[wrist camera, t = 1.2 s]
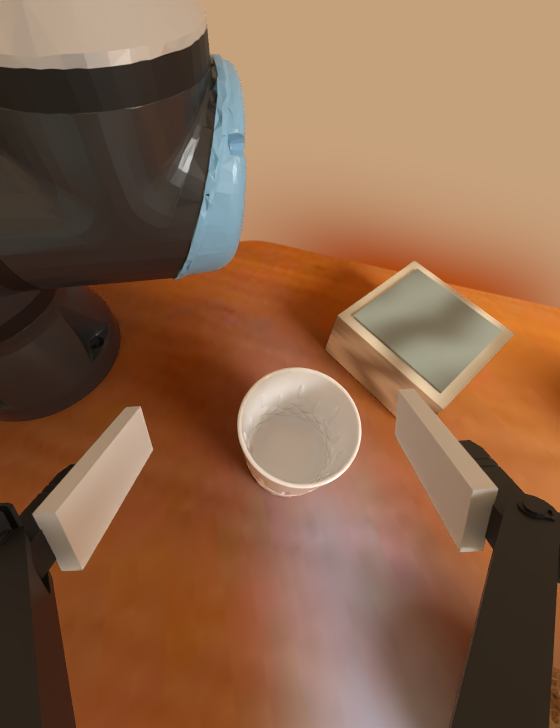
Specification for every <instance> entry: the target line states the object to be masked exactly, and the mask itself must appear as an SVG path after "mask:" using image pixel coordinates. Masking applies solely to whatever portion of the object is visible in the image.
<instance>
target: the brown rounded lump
mask: <svg viewBox="0 0 560 728" xmlns="http://www.w3.org/2000/svg"><path fill="white" fill-rule="evenodd" d="M549 728H560V670H559V669H556V668H554V667H552V683H551V700H550V718H549Z"/></svg>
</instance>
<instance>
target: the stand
mask: <svg viewBox="0 0 560 728" xmlns="http://www.w3.org/2000/svg"><path fill="white" fill-rule="evenodd" d="M514 334H515V333H513V332H512V331H511V330H509V329H508V328H506V327H505V326H504V325H502V324H501V323H500V322H498V321H497V320H495V319H494V318H493V317H491V316H490V315H488V314H487V313H486V312H484V311H483V310H482V309H480V308H479V307H477V306H476V305H475V304H473V303H472V302H471V301H469V300H468V299H466V298H465V297H464V296H462V295H461V294H460V293H458V292H457V291H455V290H454V289H453V288H451V287H450V286H449V285H447V284H446V283H444V282H443V281H442V280H440V279H439V278H438V277H436V276H435V275H433V274H432V273H431V272H429V271H428V270H427V269H425V268H424V267H422V266H421V265H420V264H418V263H417V262H416V261H414V262H412V263H411V264H409V265H408V266H407V267H405V268H404V269H402V270H401V271H399V272H398V273H397V274H395V275H394V276H392V277H391V278H390V279H388V280H387V281H385V282H384V283H382V284H381V285H380V286H378V287H377V288H375V289H374V290H373V291H371V292H370V293H368V294H367V295H366V296H364V297H363V298H361V299H360V300H359V301H357V302H356V303H354V304H353V305H352V306H350V307H349V308H347V309H346V310H344V311H343V312H342V313H340V314H339V315H337V318H336V321H335V324H334V326H333V329H332V332H331V334H330V337H329V340H328V342H327V345H326V348H325V350H326V351H327V352H328V353H329V354H330V355H331V356H332V357H333V358H334V359H336V360H337V361H338V362H339V363H340V364H341V365H342V366H343V367H344V368H345V369H346V370H347V371H348V372H349V373H350V374H351V375H352V376H353V377H354V378H355V379H356V380H357V381H359V382H360V383H361V384H362V385H363V386H364V387H365V388H366V389H367V390H368V391H369V392H370V393H371V394H372V395H373V396H374V397H375V398H376V399H377V400H378V401H379V402H381V403H382V404H383V405H384V406H385V407H386V408H387V409H388V410H389V411H390V412H391V413H392V414H393V415H394V416H395V417H396V414H397V402H398V389H415V390H416V392H417V393H418V394H419V395H420V396H421V397H422V399H423V400H424V401H425V402H426V403H427V405H428V406H429V407H430V408H431V409H432V411H433V412H434V413H435V414H438V413H439V412H441V411H442V410H443V409H444V408H445V407H446V406H447V405H448V404H449V403H450V402H451V401H452V400H453V399H454V398H455V397H456V396H457V395H458V394H459V392H460V391H461V390H462V389H463V388H464V387H465V386H466V385H467V384H468V383H469V382H470V381H471V380H472V379H473V378H474V377H475V376H476V374H477V373H478V372H479V371H480V370H481V369H482V368H483V367H484V366H485V365H486V364H487V363H488V362H489V361H490V360H491V359H492V358H493V356H494V355H495V354H496V353H497V352H498V351H499V350H500V349H501V348H502V347H503V346H504V345H505V344H506V343H507V342H508V341H509V340H510V338H511V337H512V336H513V335H514Z"/></svg>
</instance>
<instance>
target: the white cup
mask: <svg viewBox="0 0 560 728" xmlns="http://www.w3.org/2000/svg"><path fill="white" fill-rule="evenodd" d="M237 430H238V437H239V441H240V444H241V447H242V450H243V454H244V457H245V460H246V463H247V465H248V468H249V470H250V472H251V473H252V475H253V476H254V478H255V480H256V482H257V483H258V484H259V485H260V486H261V487H263V488H264V489H265V490H267V491H268V492H269V493H270V494H272V495H277V496H283V497H288V498H290V497H293V496H298V495H303V494H305V493H308V492H311V491H313V490H315V489H317V488H319V487H321V486H323V485H325V484H327V483H329V482H331V481H333V480H334V479H336V478H337V477H339V476H340V475H341V474H342V473H344V472H345V471H346V469H347V468H348V467H349V466H350V465H351V463H352V462H353V460H354V458H355V456H356V454H357V452H358V449H359V445H360V441H361V422H360V417H359V413H358V410H357V408H356V405H355V403H354V402H353V400H352V398H351V397H350V395H349V394H348V393H347V391H346V390H345V389H344V388H343V387H342V386H341V385H340V384H339V383H338V382H336V381H335V380H334V379H332V378H331V377H329V376H327V375H325V374H323V373H321V372H318V371H315V370H312V369H307V368H298V367H294V368H285V369H280V370H277V371H274V372H272V373H269V374H267V375H266V376H264V377H262V378H261V379H260V380H258V381H257V382H256V383H255V384H254V385H253V386H252V387H251V388H250V389H249V391H248V392H247V393H246V395H245V397H244V399H243V401H242V403H241V406H240V409H239V413H238V419H237Z"/></svg>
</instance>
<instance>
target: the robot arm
mask: <svg viewBox="0 0 560 728" xmlns="http://www.w3.org/2000/svg"><path fill="white" fill-rule="evenodd" d="M244 141H245V114H244V103H243V96H242V88H241V84H240V80H239V76H238V73H237V71H236V69H235V67H234V65H233V64H232V63H231V62H230V61H228V60H225V59H223V58H222V57H221V56H220V55H219V54H218V55H216V54H213V55H210V54H209V43H208V33H207V21H206V13H205V10H204V8H203V6H202V5H201V4H200V2H199V1H198V0H0V421H25V420H32V419H37V418H41V417H44V416H48V415H51V414H53V413H56V412H58V411H61V410H63V409H65V408H67V407H69V406H71V405H72V404H74V403H76V402H77V401H79V400H81V399H82V398H83V397H85V396H86V395H87V394H89V393H90V392H91V391H92V390H93V389H94V388H95V387H96V386H97V385H98V384H99V383H100V382H101V381H102V380H103V379H104V378H105V376H106V375H107V374H108V372H109V371H110V369H111V367H112V366H113V364H114V362H115V360H116V357H117V355H118V351H119V347H120V330H119V326H118V323H117V320H116V318H115V317H114V315H113V313H112V312H111V310H110V309H109V307H108V306H107V304H106V303H105V301H104V300H103V299H102V298H101V297H100V296H99V295H98V294H97V293H95V292H94V291H93V290H91V289H90V288H89V287H87V286H88V285H99V284H110V283H121V282H133V281H144V280H155V279H167V278H173V279H178V278H183V277H184V276H185V275H190V274H196V273H203V272H210V271H216V270H218V269H220V268H223V267H224V266H225V265H227V264H228V263H229V262H230V261H231V260H232V259H233V257H234V255H235V253H236V251H237V248H238V245H239V241H240V236H241V231H242V224H243V215H244V204H245V188H246V187H245V186H246V159H245V156H244V152H243V149H244V144H245V142H244ZM395 436H396V438H397V440H398V442H399V444H400V445H401V447H402V449H403V451H404V453H405V454H406V456H407V458H408V460H409V462H410V463H411V465H412V467H413V469H414V471H415V472H416V474H417V476H418V478H419V480H420V481H421V483H422V485H423V487H424V489H425V490H426V492H427V494H428V496H429V498H430V499H431V501H432V503H433V505H434V507H435V508H436V510H437V512H438V514H439V516H440V517H441V519H442V521H443V523H444V525H445V526H446V528H447V530H448V532H449V534H450V535H451V537H452V539H453V541H454V543H455V544H456V546H457V548H458V550H459V552H468V551H483V547H484V543H485V539H487V541H488V542H489V544H490V545H491V547H492V548H493V553H492V557H491V560H490V564H489V568H488V573H487V577H486V581H485V585H484V589H483V593H482V597H481V601H480V605H479V609H478V613H477V617H476V621H475V625H474V629H473V633H472V637H471V641H470V645H469V649H468V653H467V657H466V661H465V665H464V669H463V673H462V677H461V681H460V685H459V689H458V693H457V697H456V701H455V705H454V709H453V713H452V717H451V721H450V725H449V728H549V718H550V700H551V683H552V665H553V648H554V631H555V613H556V596H557V583H560V513H559V512H557V511H556V510H555V509H554V507H552V506H551V505H550V504H548V503H547V502H545V501H544V500H542V499H540V498H537V497H535V496H532V495H528V494H525V493H524V492H523V491H522V490H521V489H520V488H519V487H518V486H517V485H516V484H515V483H514V481H513V480H512V479H511V478H510V477H509V476H508V475H507V474H506V473H505V472H504V471H503V470H502V469H501V467H498V464H497V463H496V462H495V461H494V460H493V459H491V457H490V456H489V454H488V453H487V452H486V451H485V450H484V449H483V448H482V447H480V446H479V445H477V444H475V443H474V442H472V441H470V440H464V441H458V440H457V439H456V438H455V437H454V435H453V434H452V433H451V432H450V431H449V430H448V428H447V427H446V426H445V425H444V424H443V422H442V421H441V420H440V419H439V418H438V416H437V415H436V414H435V413H434V412H433V411H432V409H431V408H430V407H429V406H428V405H427V403H426V402H425V401H424V400H423V399H422V397H421V396H420V395H419V394H418V393H417V392H416V390H415V389H398V402H397V414H396V427H395ZM152 451H153V448H152V444H151V441H150V437H149V434H148V430H147V427H146V423H145V420H144V416H143V413H142V409H141V406H136V407H126V408H125V409H124V410H123V411H122V412H121V413H120V415H119V416H118V417H117V418H116V419H115V420H114V421H113V423H112V424H111V425H110V426H109V427H108V428H107V429H106V430H105V432H104V433H103V434H102V435H101V436H100V437H99V438H98V440H97V441H96V442H95V443H94V444H93V445H92V446H91V448H90V449H89V450H88V451H87V452H86V453H85V454H84V456H83V457H82V458H81V459H80V460H79V461H78V462H77V463H76V464H73V465H69V466H68V467H67V468H65V469H64V470H62V471H61V472H60V473H58V474H57V475H56V476H55V477H54V479H53V480H52V481H51V482H50V483H49V485H47V486H46V487H45V488H44V489H43V491H42V493H40V494H39V495H38V496H37V497H36V498H35V499H34V500H33V501H32V502H31V504H30V505H29V506H28V507H27V508H26V509H25V510H24V511H23V512H22V513H21V514H20V516H19V515H18V513H17V512H16V510H15V508H14V506H13V504H10V503H0V728H76V724H75V718H74V712H73V706H72V699H71V693H70V687H69V681H68V674H67V668H66V662H65V655H64V649H63V643H62V637H61V630H60V624H59V618H58V612H57V605H56V599H55V593H54V586H53V580H52V576H51V574H50V572H49V569H50V568H51V566H52V565H53V563H54V562H55V560H56V561H57V563H58V565H59V567H60V569H61V571H73V570H83V569H84V567H85V565H86V564H87V562H88V560H89V559H90V557H91V555H92V554H93V552H94V550H95V548H96V547H97V545H98V543H99V542H100V540H101V538H102V536H103V535H104V533H105V531H106V530H107V528H108V526H109V524H110V523H111V521H112V519H113V518H114V516H115V514H116V512H117V511H118V509H119V507H120V506H121V504H122V502H123V500H124V499H125V497H126V495H127V494H128V492H129V490H130V488H131V487H132V485H133V483H134V482H135V480H136V478H137V476H138V475H139V473H140V471H141V470H142V468H143V466H144V464H145V463H146V461H147V459H148V458H149V456H150V454H151V452H152Z"/></svg>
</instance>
